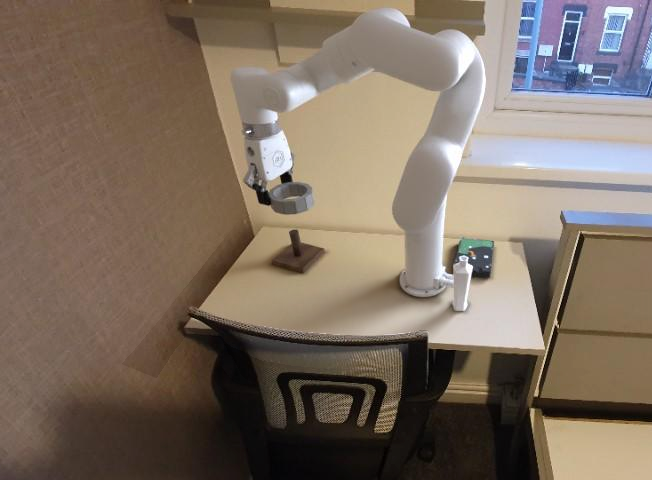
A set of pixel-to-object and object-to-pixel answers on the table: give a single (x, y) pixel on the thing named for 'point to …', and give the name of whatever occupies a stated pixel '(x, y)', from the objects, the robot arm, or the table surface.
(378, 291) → the table surface
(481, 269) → the disk drive
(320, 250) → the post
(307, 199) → the tape roll
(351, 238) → the table surface
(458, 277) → the perfume bottle
